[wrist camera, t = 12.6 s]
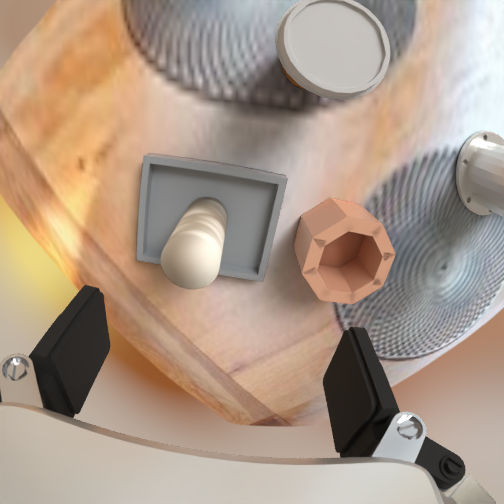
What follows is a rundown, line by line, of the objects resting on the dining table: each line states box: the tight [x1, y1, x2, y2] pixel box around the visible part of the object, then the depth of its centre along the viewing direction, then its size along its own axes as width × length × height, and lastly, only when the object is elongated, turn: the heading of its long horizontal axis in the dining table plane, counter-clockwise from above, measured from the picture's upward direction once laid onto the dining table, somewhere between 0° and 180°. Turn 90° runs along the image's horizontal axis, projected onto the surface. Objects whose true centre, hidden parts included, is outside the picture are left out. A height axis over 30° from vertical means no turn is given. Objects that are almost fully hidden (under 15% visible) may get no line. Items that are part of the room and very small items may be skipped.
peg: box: [161, 197, 228, 289], centre depth 31 cm, size 5×5×12 cm
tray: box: [137, 153, 287, 282], centre depth 36 cm, size 16×13×2 cm
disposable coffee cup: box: [275, 0, 390, 100], centre depth 24 cm, size 10×10×12 cm
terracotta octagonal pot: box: [293, 198, 396, 304], centre depth 35 cm, size 10×10×7 cm
